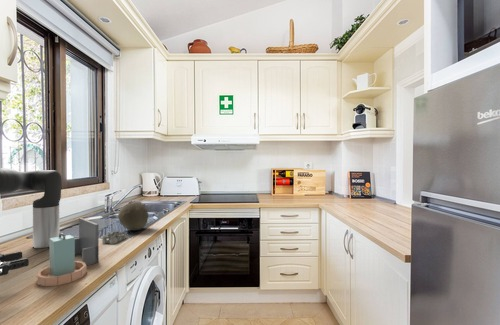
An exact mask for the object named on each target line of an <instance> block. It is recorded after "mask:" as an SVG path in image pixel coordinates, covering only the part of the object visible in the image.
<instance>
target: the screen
mask: <svg viewBox="0 0 500 325" xmlns="http://www.w3.org/2000/svg"><path fill="white" fill-rule="evenodd" d="M78 232H79V233H78V238H75V255H78V254H81V258H82V259H81V262H85V264H86V267H87V266H89V265H94V264H97V263H99V262H100V260H99V259H100V258H99V254H100V253H99V248H100V246H99V242H100V241H99V240H100V239H99V234H100V233H99V224H98V223H96V222H94V221H92V220H88V219H86V218H83V217H79V218H78Z"/></svg>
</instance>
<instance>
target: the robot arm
mask: <svg viewBox="0 0 500 325" xmlns="http://www.w3.org/2000/svg"><path fill="white" fill-rule="evenodd" d="M62 180H63V178H62V175H61V173H60V172H59V171H58V170H56V169H55V170H54V169H52V170H51V169H50V170H49V169H45V170H44V169H38V170H29V171H18V170H15V169H11V168H0V195H2V194H3V195H5V194H10V193H14V192H16V191H20V190H21V191H22V190H23V191H33V192H34V191H35V192H44V193H43V196H41V197H40V198H38V199H35V200H33V201H32V247H34V249H45V248H50V240H49V239H50V238H55V237H59V232H61V231H60V226H61V225H60V202H61V197H62V182H63V181H62ZM29 261H30V260H29V258H28V257H24V258H23V252H22V251H21V250H20V251H16V252H11V253H6V254H5V253H0V277H2V276H6V275H9V272H11V271H13V270H18V269H21V268H25V267H28V266H29Z"/></svg>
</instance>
